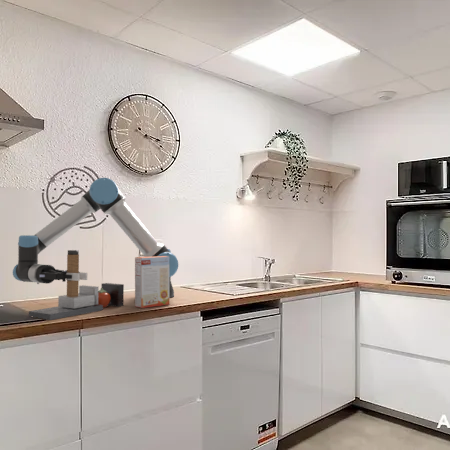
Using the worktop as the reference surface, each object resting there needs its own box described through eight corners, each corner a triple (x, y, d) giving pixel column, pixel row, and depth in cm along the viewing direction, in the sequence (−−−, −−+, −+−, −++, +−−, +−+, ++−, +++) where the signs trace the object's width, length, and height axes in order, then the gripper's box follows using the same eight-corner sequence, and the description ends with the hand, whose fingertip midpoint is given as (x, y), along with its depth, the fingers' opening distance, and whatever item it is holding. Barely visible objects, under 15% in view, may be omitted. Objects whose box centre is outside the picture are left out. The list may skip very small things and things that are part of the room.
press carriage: (82, 302, 178) (83, 249, 179) (98, 304, 174) (98, 250, 174) (58, 306, 168) (59, 250, 168) (73, 308, 163) (74, 250, 164)
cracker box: (162, 303, 192) (162, 255, 192) (169, 305, 187) (170, 256, 188) (133, 306, 183) (134, 256, 183) (141, 308, 178) (141, 257, 179)
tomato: (111, 305, 185) (111, 286, 185) (109, 308, 178) (110, 288, 178) (93, 305, 184) (93, 286, 184) (91, 308, 177) (91, 289, 177)
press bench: (104, 303, 190) (105, 282, 191) (125, 305, 184) (125, 284, 184) (28, 316, 159) (29, 291, 159) (50, 320, 152) (50, 294, 153)
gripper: (59, 281, 184) (98, 284, 172) (24, 284, 171) (65, 288, 159) (59, 263, 185) (98, 265, 173) (25, 265, 171) (65, 268, 159)
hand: (82, 276), depth 166 cm, fingers closed on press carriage, 3 cm apart
